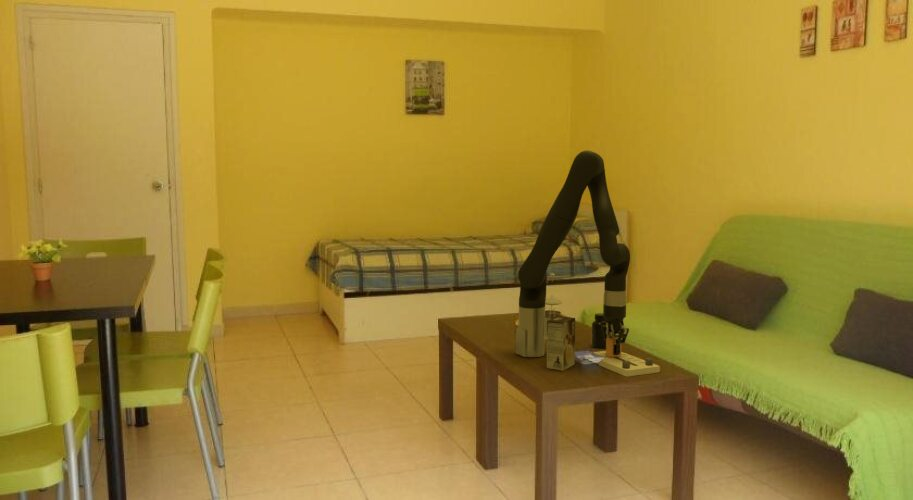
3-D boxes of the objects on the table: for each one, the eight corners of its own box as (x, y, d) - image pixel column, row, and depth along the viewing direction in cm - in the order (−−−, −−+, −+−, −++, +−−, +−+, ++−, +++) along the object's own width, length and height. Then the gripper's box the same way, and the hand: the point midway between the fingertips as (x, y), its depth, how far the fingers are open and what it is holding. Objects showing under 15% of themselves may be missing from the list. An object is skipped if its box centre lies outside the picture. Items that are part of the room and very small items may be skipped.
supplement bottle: (610, 349, 280) (610, 316, 279) (590, 348, 282) (591, 315, 280) (610, 344, 287) (610, 312, 286) (591, 343, 288) (592, 312, 287)
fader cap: (610, 357, 259) (610, 339, 259) (605, 355, 262) (606, 338, 261) (621, 356, 261) (621, 338, 260) (616, 354, 264) (617, 337, 263)
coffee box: (557, 362, 262) (558, 315, 260) (575, 364, 259) (576, 317, 257) (546, 368, 255) (546, 320, 253) (563, 371, 251) (564, 322, 249)
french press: (563, 334, 304) (564, 271, 301) (564, 341, 293) (565, 275, 290) (538, 333, 305) (539, 271, 302) (538, 340, 294) (539, 275, 291)
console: (626, 376, 244) (626, 364, 244) (584, 359, 266) (584, 347, 266) (659, 372, 250) (660, 360, 249) (615, 355, 271) (616, 344, 271)
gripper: (593, 300, 264) (592, 350, 266) (617, 307, 252) (616, 359, 254) (611, 299, 267) (610, 348, 269) (636, 306, 255) (635, 357, 257)
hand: (613, 353), depth 261 cm, fingers closed on fader cap, 2 cm apart
